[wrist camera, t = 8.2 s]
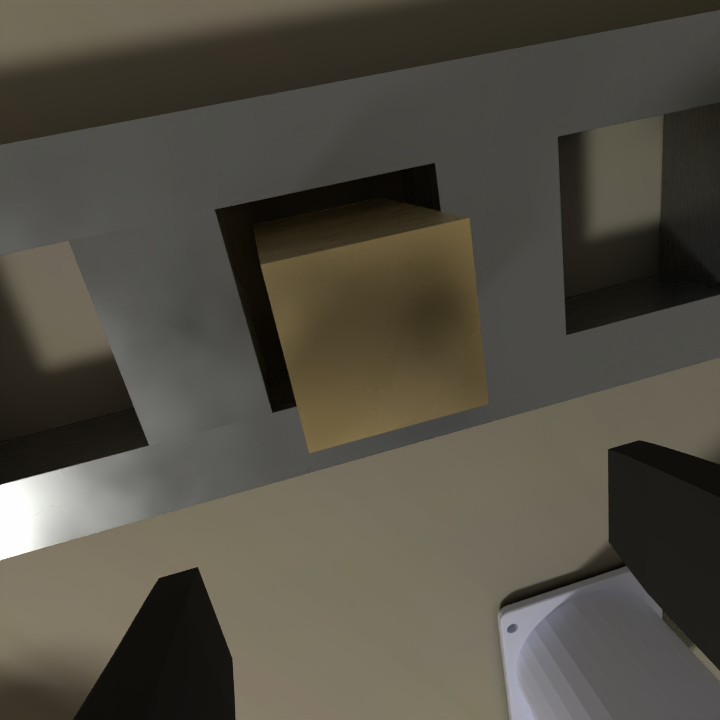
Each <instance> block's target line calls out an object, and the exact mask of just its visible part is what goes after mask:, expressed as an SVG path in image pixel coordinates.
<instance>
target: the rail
mask: <svg viewBox="0 0 720 720" xmlns="http://www.w3.org/2000/svg"><path fill="white" fill-rule="evenodd" d="M662 114H664V126H663V162H662V198H661V234H660V271H659V275H655V276H651V277H647V278H643V279H639V280H635V281H631V282H627V283H623V284H620V285H616V286H612V287H608V288H604V289H600V290H596V291H592V292H588V293H584V294H580V295H576V296H572V297H569V298H565V297H564V273H563V250H562V226H561V202H560V179H559V155H558V136H563V135H568V134H573V133H577V132H582V131H587V130H591V129H596V128H601V127H606V126H610V125H615V124H620V123H624V122H629V121H634V120H638V119H643V118H648V117H653V116H657V115H662ZM398 170H403V175H404V181H405V188H406V195H407V202H408V204H410V205H415V206H419V207H424V208H428V209H432V210H437V211H441V212H446V213H450V214H455V215H459V216H463V217H468V218H469V219H470V228H471V238H472V248H473V257H474V267H475V277H476V286H477V296H478V306H479V315H480V325H481V335H482V344H483V354H484V364H485V373H486V383H487V393H488V402H489V404H487V405H484V406H480V407H476V408H473V409H469V410H465V411H462V412H458V413H454V414H451V415H447V416H443V417H440V418H436V419H433V420H429V421H425V422H422V423H418V424H414V425H411V426H407V427H403V428H400V429H396V430H392V431H389V432H385V433H382V434H378V435H374V436H371V437H367V438H363V439H360V440H356V441H352V442H349V443H345V444H341V445H338V446H334V447H331V448H327V449H323V450H320V451H316V452H312V453H309V451H308V447H307V443H306V439H305V435H304V431H303V428H302V424H301V420H300V416H299V412H298V408H297V404H296V400H295V397H294V393H293V389H292V385H291V381H290V377H289V373H288V369H286V370H282V371H278V372H274V373H270V374H267V371H266V368H265V364H264V360H263V357H262V353H261V350H260V346H259V342H258V339H257V335H256V332H255V328H254V324H253V321H252V317H251V314H250V310H249V307H248V303H247V299H246V296H245V292H244V289H243V285H242V281H241V278H240V274H239V271H238V267H237V263H236V260H235V256H234V253H233V249H232V245H231V242H230V238H229V235H228V231H227V227H226V224H225V220H224V217H223V213H222V210H221V208H224V207H229V206H234V205H238V204H243V203H248V202H252V201H257V200H262V199H267V198H271V197H276V196H281V195H285V194H290V193H295V192H299V191H304V190H309V189H314V188H318V187H323V186H328V185H332V184H337V183H342V182H347V181H351V180H356V179H361V178H365V177H370V176H375V175H380V174H384V173H389V172H394V171H398ZM64 241H69V243H70V245H71V248H72V250H73V253H74V256H75V258H76V261H77V263H78V266H79V268H80V271H81V273H82V276H83V278H84V281H85V283H86V286H87V289H88V291H89V294H90V296H91V299H92V301H93V304H94V306H95V309H96V311H97V314H98V317H99V319H100V322H101V324H102V327H103V329H104V332H105V334H106V337H107V339H108V342H109V345H110V347H111V350H112V352H113V355H114V357H115V360H116V362H117V365H118V367H119V370H120V372H121V375H122V378H123V380H124V383H125V385H126V388H127V390H128V393H129V395H130V398H131V400H132V403H133V406H134V408H133V409H129V410H125V411H121V412H117V413H113V414H109V415H106V416H102V417H98V418H94V419H90V420H86V421H82V422H78V423H74V424H70V425H66V426H62V427H58V428H55V429H51V430H47V431H43V432H39V433H35V434H31V435H27V436H23V437H19V438H15V439H11V440H7V441H4V442H0V560H1V559H5V558H8V557H12V556H16V555H19V554H23V553H26V552H30V551H33V550H37V549H40V548H44V547H48V546H51V545H55V544H58V543H62V542H65V541H69V540H72V539H76V538H79V537H83V536H87V535H90V534H94V533H97V532H101V531H104V530H108V529H111V528H115V527H119V526H122V525H126V524H129V523H133V522H136V521H140V520H143V519H147V518H151V517H154V516H158V515H161V514H165V513H168V512H172V511H175V510H179V509H183V508H186V507H190V506H193V505H197V504H200V503H204V502H207V501H211V500H214V499H218V498H222V497H225V496H229V495H232V494H236V493H239V492H243V491H246V490H250V489H254V488H257V487H261V486H264V485H268V484H271V483H275V482H278V481H282V480H286V479H289V478H293V477H296V476H300V475H303V474H307V473H310V472H314V471H317V470H321V469H325V468H328V467H332V466H335V465H339V464H342V463H346V462H349V461H353V460H357V459H360V458H364V457H367V456H371V455H374V454H378V453H381V452H385V451H389V450H392V449H396V448H399V447H403V446H406V445H410V444H413V443H417V442H420V441H424V440H428V439H431V438H435V437H438V436H442V435H445V434H449V433H452V432H456V431H460V430H463V429H467V428H470V427H474V426H477V425H481V424H484V423H488V422H492V421H495V420H499V419H502V418H506V417H509V416H513V415H516V414H520V413H524V412H527V411H531V410H534V409H538V408H541V407H545V406H548V405H552V404H555V403H559V402H563V401H566V400H570V399H573V398H577V397H580V396H584V395H587V394H591V393H595V392H598V391H602V390H605V389H609V388H612V387H616V386H619V385H623V384H627V383H630V382H634V381H637V380H641V379H644V378H648V377H651V376H655V375H658V374H662V373H666V372H669V371H673V370H676V369H680V368H683V367H687V366H690V365H694V364H698V363H701V362H705V361H708V360H712V359H715V358H719V357H720V10H717V11H712V12H706V13H701V14H696V15H690V16H685V17H680V18H674V19H669V20H664V21H658V22H653V23H648V24H642V25H637V26H632V27H626V28H621V29H616V30H610V31H605V32H600V33H594V34H589V35H584V36H578V37H573V38H568V39H562V40H557V41H552V42H546V43H541V44H536V45H530V46H525V47H520V48H514V49H509V50H504V51H498V52H493V53H487V54H482V55H477V56H471V57H466V58H461V59H455V60H450V61H445V62H439V63H434V64H429V65H423V66H418V67H413V68H407V69H402V70H397V71H391V72H386V73H381V74H375V75H370V76H365V77H359V78H354V79H349V80H343V81H338V82H333V83H327V84H322V85H317V86H311V87H306V88H301V89H295V90H290V91H285V92H279V93H274V94H269V95H263V96H258V97H253V98H247V99H242V100H237V101H231V102H226V103H221V104H215V105H210V106H205V107H199V108H194V109H189V110H183V111H178V112H173V113H167V114H162V115H157V116H151V117H146V118H141V119H135V120H130V121H125V122H119V123H114V124H109V125H103V126H98V127H93V128H87V129H82V130H77V131H71V132H66V133H61V134H55V135H50V136H45V137H39V138H34V139H29V140H23V141H18V142H13V143H7V144H2V145H0V255H3V254H8V253H12V252H17V251H22V250H26V249H31V248H36V247H41V246H45V245H50V244H55V243H59V242H64Z"/></svg>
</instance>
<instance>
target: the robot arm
mask: <svg viewBox="0 0 720 720" xmlns="http://www.w3.org/2000/svg"><path fill="white" fill-rule="evenodd" d="M608 493H609V542H610V544H611V545H612V547H613V548H614V549H615V551H616V552H617V554H618V555H619V556H620V558H621V559H622V560H623V562H624V563H625V565H626V566H625V567H622V568H619V569H616V570H613V571H610V572H607V573H604V574H601V575H598V576H595V577H592V578H589V579H586V580H583V581H580V582H577V583H574V584H571V585H568V586H565V587H561V588H558V589H555V590H552V591H549V592H546V593H543V594H540V595H537V596H534V597H531V598H528V599H525V600H522V601H519V602H516V603H513V604H510V605H507V606H505V607H503V608H502V609H501V610H500V611H499V613H498V617H497V618H498V626H499V634H500V643H501V651H502V659H503V668H504V676H505V684H506V692H507V701H508V709H509V717H510V720H720V681H719V680H718V679H717V678H716V677H715V676H714V675H713V674H712V673H711V671H710V670H709V669H708V668H707V667H706V666H705V665H704V664H703V663H702V662H701V661H700V660H699V659H698V657H697V656H696V655H695V654H694V653H693V652H692V651H691V650H690V649H689V648H688V647H687V646H686V645H685V643H684V642H683V641H682V640H681V639H680V638H679V637H678V636H677V635H676V634H675V633H674V632H673V631H672V629H671V628H670V627H669V626H668V625H667V624H666V623H665V622H664V621H663V620H662V610H663V611H664V612H665V613H666V614H667V615H668V616H669V617H670V618H671V619H672V620H673V622H674V623H675V624H676V625H677V626H678V627H679V628H680V629H681V630H682V631H683V632H684V633H685V634H686V635H687V636H688V638H689V639H690V640H691V641H692V642H693V643H694V644H695V645H696V646H697V647H698V648H699V649H700V650H701V651H702V652H703V653H704V654H705V655H706V656H707V658H708V659H709V660H710V661H711V662H712V663H713V664H714V665H715V666H716V667H717V668H718V669H719V670H720V465H719V464H716V463H713V462H710V461H707V460H704V459H701V458H698V457H695V456H692V455H689V454H685V453H682V452H679V451H676V450H673V449H669V448H666V447H663V446H659V445H656V444H652V443H648V442H644V441H640V440H639V441H635V442H632V443H628V444H625V445H621V446H618V447H614V448H611V449H608ZM73 720H235V697H234V680H233V662H232V657H231V654H230V651H229V649H228V646H227V643H226V641H225V638H224V635H223V633H222V630H221V628H220V625H219V622H218V620H217V617H216V614H215V612H214V609H213V606H212V604H211V601H210V598H209V596H208V593H207V590H206V588H205V585H204V582H203V580H202V577H201V575H200V572H199V569H198V567H196V568H193V569H190V570H186V571H183V572H179V573H176V574H172V575H169V576H165V577H162V578H159V579H158V581H157V582H156V584H155V585H154V587H153V589H152V590H151V592H150V593H149V595H148V597H147V598H146V600H145V602H144V603H143V605H142V607H141V609H140V610H139V612H138V614H137V615H136V617H135V619H134V620H133V622H132V624H131V626H130V627H129V629H128V631H127V632H126V634H125V636H124V637H123V639H122V641H121V642H120V644H119V646H118V647H117V649H116V651H115V652H114V654H113V656H112V657H111V659H110V661H109V662H108V664H107V666H106V667H105V669H104V671H103V672H102V674H101V675H100V677H99V679H98V680H97V682H96V683H95V685H94V687H93V688H92V690H91V691H90V693H89V695H88V696H87V698H86V699H85V701H84V703H83V704H82V706H81V708H80V709H79V711H78V712H77V714H76V715H75V717H74V719H73Z"/></svg>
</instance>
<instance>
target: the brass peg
mask: <svg viewBox="0 0 720 720" xmlns="http://www.w3.org/2000/svg"><path fill="white" fill-rule="evenodd" d="M252 226H253V231H254V235H255V240H256V245H257V250H258V255H259V260H260V265H261V269H262V273H263V276H264V280H265V284H266V288H267V292H268V296H269V300H270V304H271V307H272V311H273V315H274V319H275V323H276V327H277V331H278V335H279V338H280V342H281V346H282V350H283V354H284V358H285V362H286V366H287V369H288V373H289V377H290V381H291V385H292V389H293V393H294V397H295V400H296V404H297V408H298V412H299V416H300V420H301V424H302V428H303V431H304V435H305V439H306V443H307V447H308V451H309V453H312V452H316V451H320V450H323V449H327V448H331V447H334V446H338V445H341V444H345V443H349V442H352V441H356V440H360V439H363V438H367V437H371V436H374V435H378V434H382V433H385V432H389V431H392V430H396V429H400V428H403V427H407V426H411V425H414V424H418V423H422V422H425V421H429V420H433V419H436V418H440V417H443V416H447V415H451V414H454V413H458V412H462V411H465V410H469V409H473V408H476V407H480V406H484V405H487V404H489V402H488V393H487V383H486V373H485V364H484V354H483V344H482V335H481V325H480V315H479V306H478V296H477V286H476V277H475V267H474V257H473V248H472V238H471V228H470V219H469V218H468V217H463V216H459V215H455V214H450V213H446V212H441V211H437V210H432V209H428V208H424V207H419V206H415V205H410V204H406V203H401V202H397V201H393V200H388V199H384V198H375V199H371V200H366V201H362V202H357V203H352V204H348V205H343V206H338V207H334V208H329V209H324V210H320V211H315V212H310V213H306V214H301V215H296V216H292V217H287V218H282V219H278V220H273V221H268V222H264V223H259V224H254V225H252Z"/></svg>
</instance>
